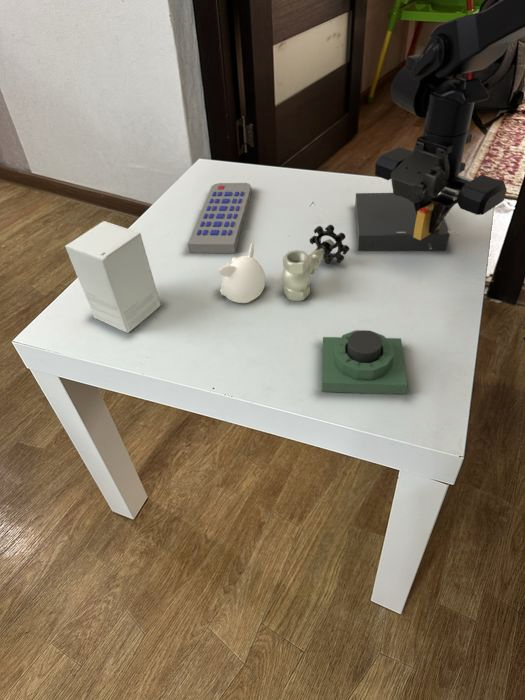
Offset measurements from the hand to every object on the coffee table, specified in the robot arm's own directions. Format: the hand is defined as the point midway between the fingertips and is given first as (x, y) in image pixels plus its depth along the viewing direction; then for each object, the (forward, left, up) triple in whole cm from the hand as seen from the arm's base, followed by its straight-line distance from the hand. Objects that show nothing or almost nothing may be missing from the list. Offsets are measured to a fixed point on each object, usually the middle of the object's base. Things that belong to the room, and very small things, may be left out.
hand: (427, 230), depth 78 cm
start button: (+11, +27, 0) cm, 29 cm away
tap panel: (+3, -4, -4) cm, 6 cm away
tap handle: (0, 0, 0) cm, 0 cm away
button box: (+11, +27, -4) cm, 29 cm away
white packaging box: (+45, +17, -4) cm, 48 cm away
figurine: (+28, +12, -4) cm, 30 cm away
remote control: (+34, -10, -4) cm, 36 cm away
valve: (+18, +9, -4) cm, 20 cm away
